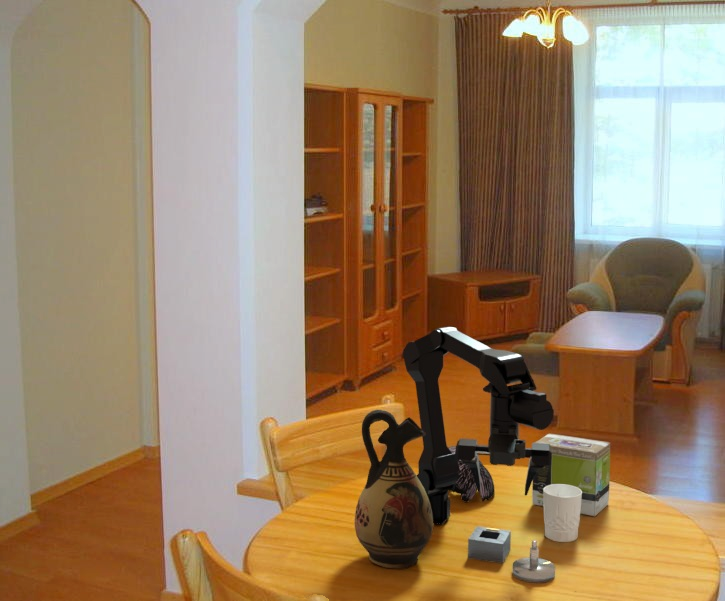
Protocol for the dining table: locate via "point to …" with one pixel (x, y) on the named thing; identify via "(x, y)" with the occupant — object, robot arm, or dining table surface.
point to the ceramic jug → (392, 498)
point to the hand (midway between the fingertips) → (502, 493)
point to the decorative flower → (473, 482)
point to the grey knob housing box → (489, 544)
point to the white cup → (562, 512)
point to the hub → (533, 567)
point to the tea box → (576, 470)
